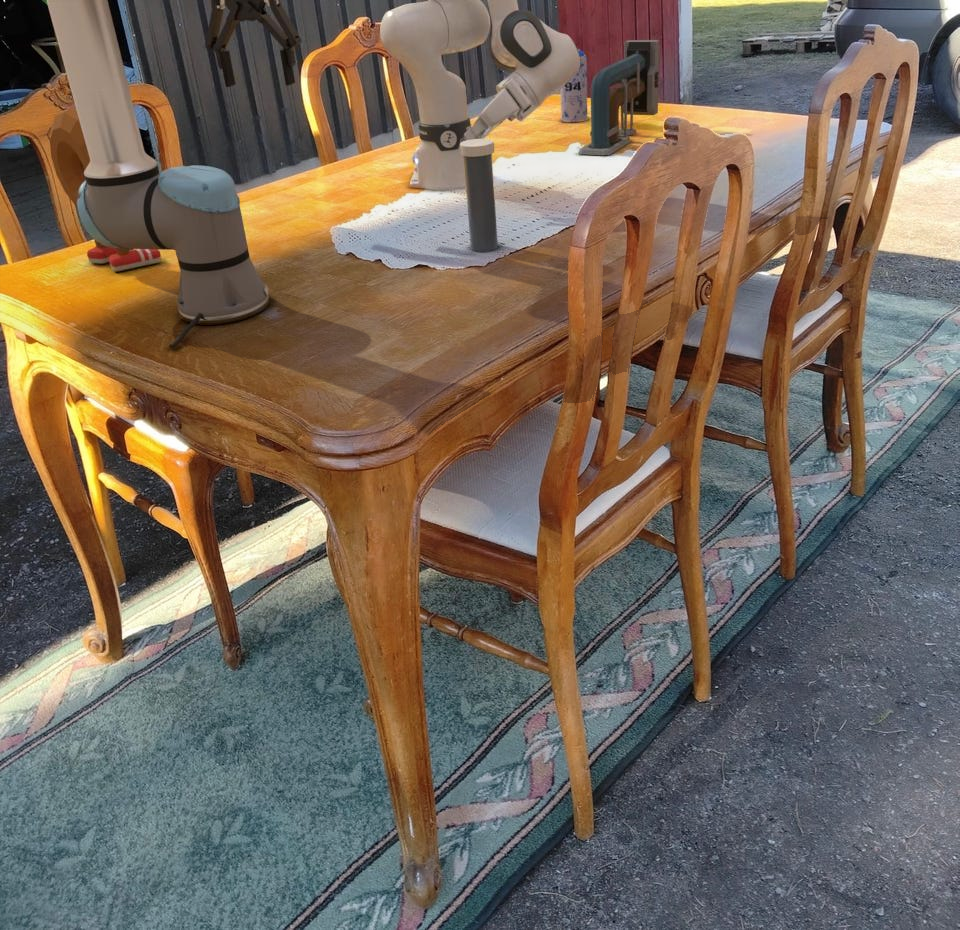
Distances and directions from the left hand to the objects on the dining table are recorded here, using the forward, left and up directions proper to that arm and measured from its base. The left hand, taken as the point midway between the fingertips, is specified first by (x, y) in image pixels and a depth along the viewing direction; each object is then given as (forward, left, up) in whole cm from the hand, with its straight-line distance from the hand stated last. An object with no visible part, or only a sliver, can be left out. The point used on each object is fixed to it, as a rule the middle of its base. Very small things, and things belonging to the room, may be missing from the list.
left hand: (260, 85), depth 196 cm
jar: (-14, -50, -28) cm, 59 cm away
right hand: (+13, -38, -14) cm, 43 cm away
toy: (-28, +22, -28) cm, 45 cm away
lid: (-14, -50, -9) cm, 52 cm away
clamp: (+74, -60, -28) cm, 99 cm away
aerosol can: (+98, -43, -28) cm, 111 cm away
